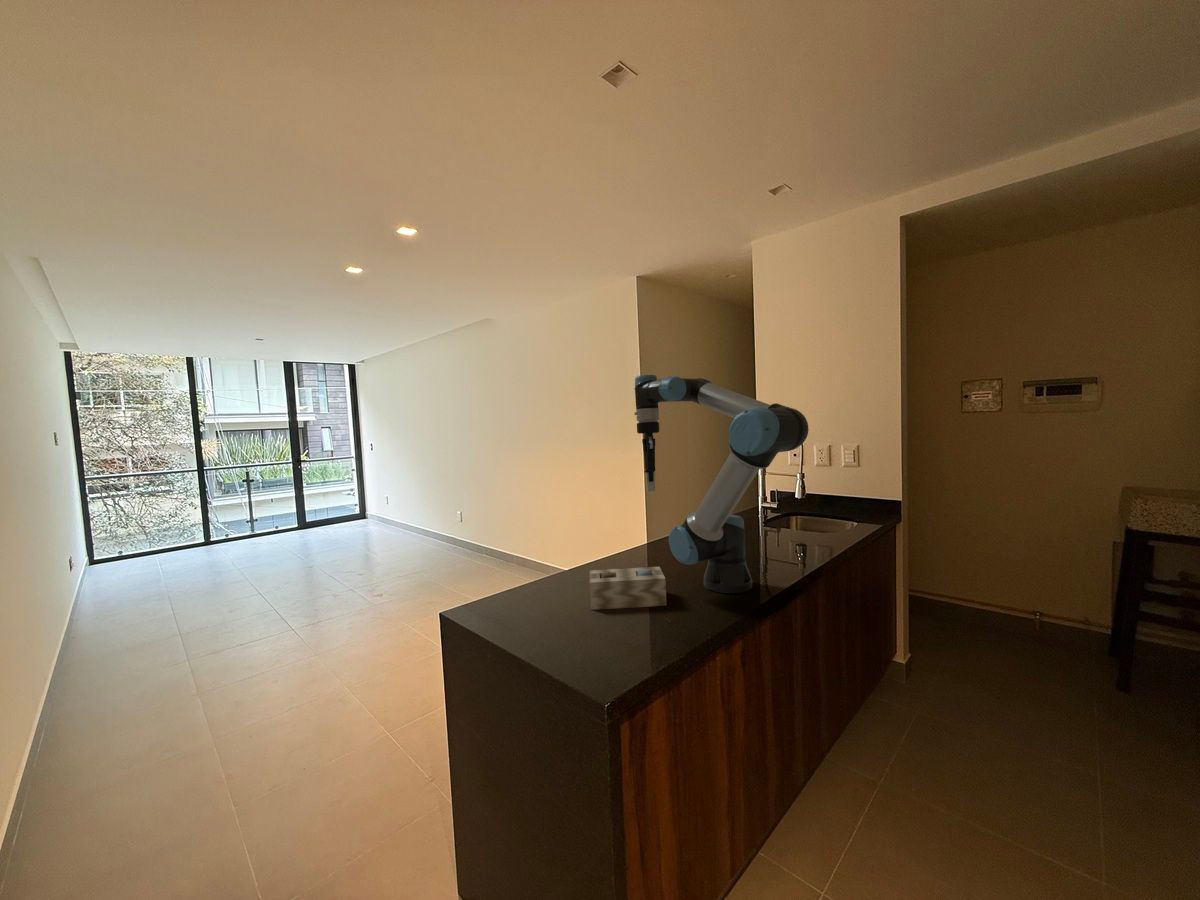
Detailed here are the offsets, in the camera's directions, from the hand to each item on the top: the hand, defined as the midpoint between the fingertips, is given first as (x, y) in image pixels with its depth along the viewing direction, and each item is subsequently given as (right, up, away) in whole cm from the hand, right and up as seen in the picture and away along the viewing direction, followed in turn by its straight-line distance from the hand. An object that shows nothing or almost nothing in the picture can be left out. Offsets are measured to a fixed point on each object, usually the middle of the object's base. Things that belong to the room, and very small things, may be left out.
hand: (651, 491), depth 161 cm
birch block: (-9, -32, -17) cm, 37 cm away
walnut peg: (-14, -32, -17) cm, 39 cm away
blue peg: (-4, -31, -17) cm, 36 cm away
